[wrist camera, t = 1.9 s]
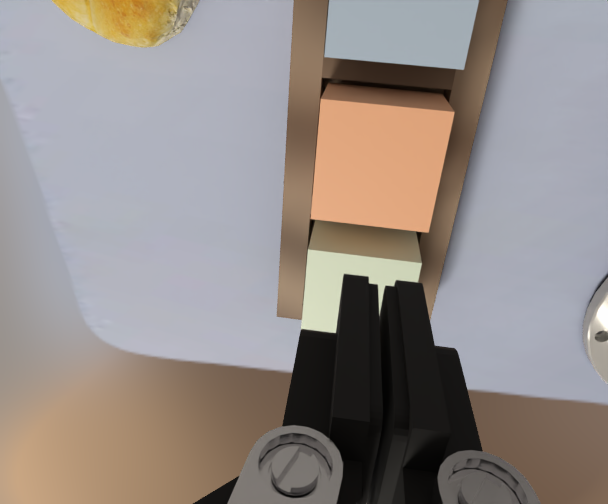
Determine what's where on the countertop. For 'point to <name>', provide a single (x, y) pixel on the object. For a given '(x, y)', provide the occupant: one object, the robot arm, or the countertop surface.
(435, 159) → the orange block
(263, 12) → the countertop surface
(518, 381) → the countertop surface
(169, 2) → the bread roll
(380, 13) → the slate button
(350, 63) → the wooden tray
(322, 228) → the sage button
